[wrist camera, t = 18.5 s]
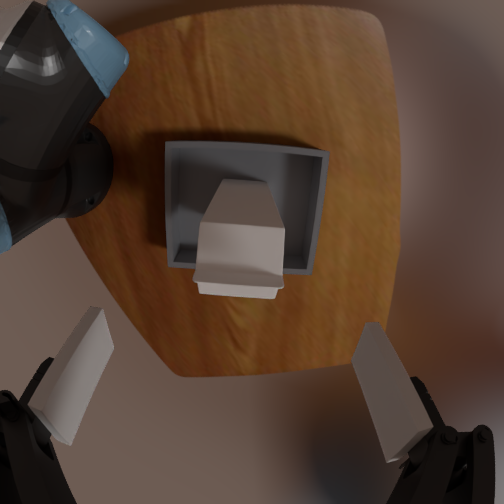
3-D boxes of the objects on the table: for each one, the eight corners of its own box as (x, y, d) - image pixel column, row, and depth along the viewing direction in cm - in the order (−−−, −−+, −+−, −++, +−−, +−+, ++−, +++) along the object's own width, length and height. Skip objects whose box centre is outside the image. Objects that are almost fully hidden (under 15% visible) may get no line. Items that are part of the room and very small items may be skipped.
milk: (222, 178, 36) (189, 235, 16) (268, 181, 37) (292, 243, 16) (220, 221, 39) (191, 318, 19) (263, 224, 39) (278, 324, 19)
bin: (176, 251, 41) (168, 266, 37) (175, 140, 35) (165, 141, 30) (304, 259, 42) (311, 274, 38) (319, 149, 35) (329, 151, 31)
